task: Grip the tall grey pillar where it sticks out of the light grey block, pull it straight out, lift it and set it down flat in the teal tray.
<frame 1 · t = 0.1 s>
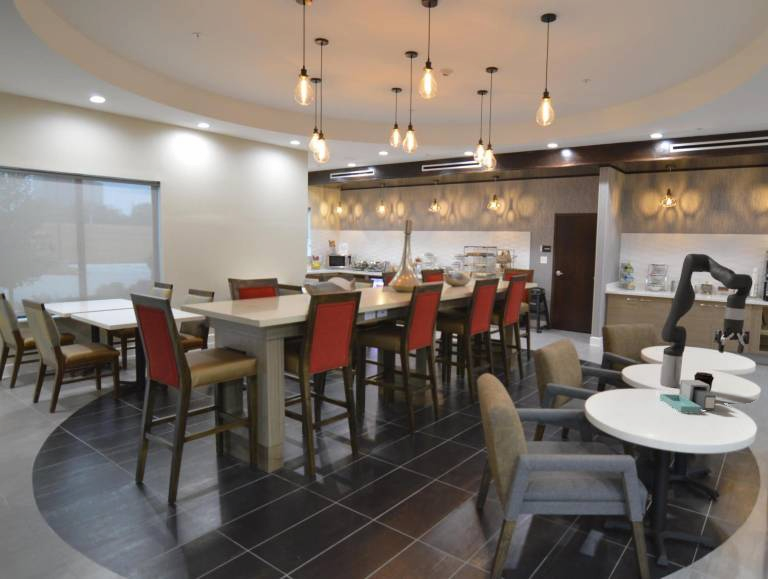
hand: (730, 352, 233), 29 cm above the table, tool pointing down, fingers open, 8 cm apart
tall grey pillar: (700, 407, 245), on the table
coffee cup: (701, 398, 259), on the table
light grey block: (693, 403, 251), on the table
tray: (679, 406, 245), on the table
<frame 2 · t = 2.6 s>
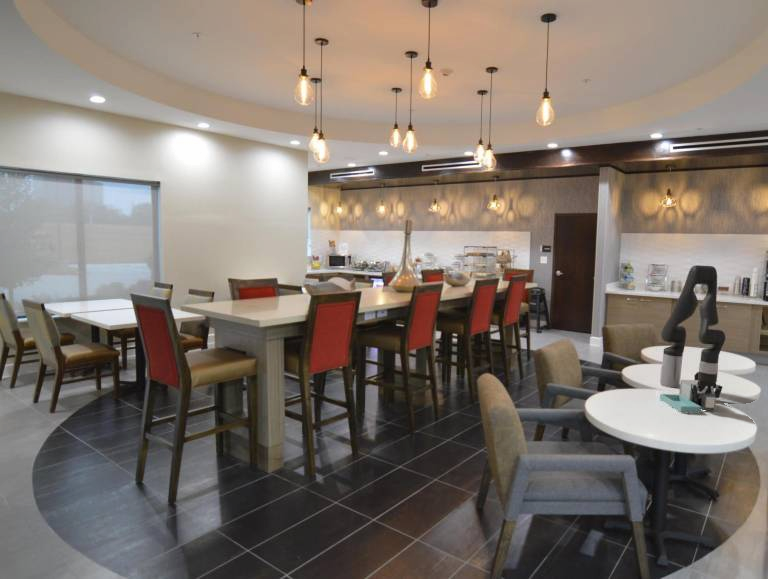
hand: (704, 405, 242), 2 cm above the table, tool pointing down, fingers closed on tall grey pillar, 5 cm apart
tall grey pillar: (700, 406, 245), on the table, touching gripper
everything else where it was.
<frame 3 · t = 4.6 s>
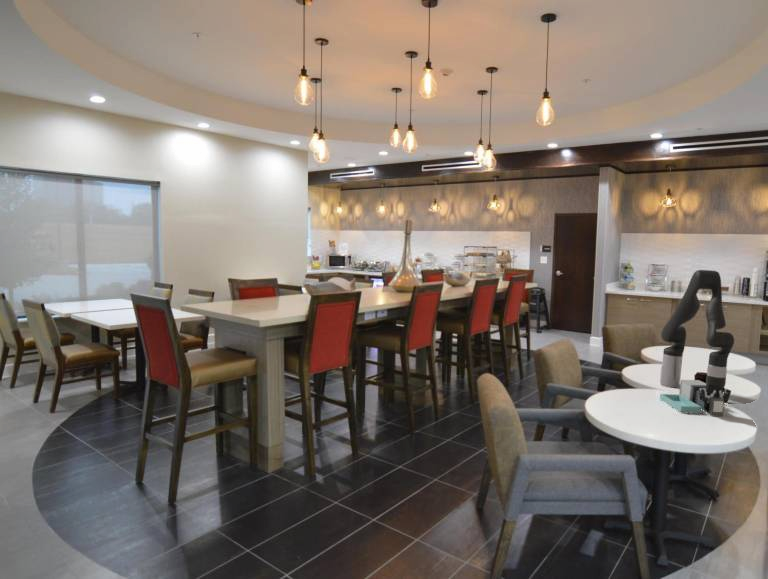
hand: (712, 410, 236), 1 cm above the table, tool pointing down, fingers closed on tall grey pillar, 5 cm apart
tall grey pillar: (708, 411, 239), on the table, touching gripper
everything else where it was.
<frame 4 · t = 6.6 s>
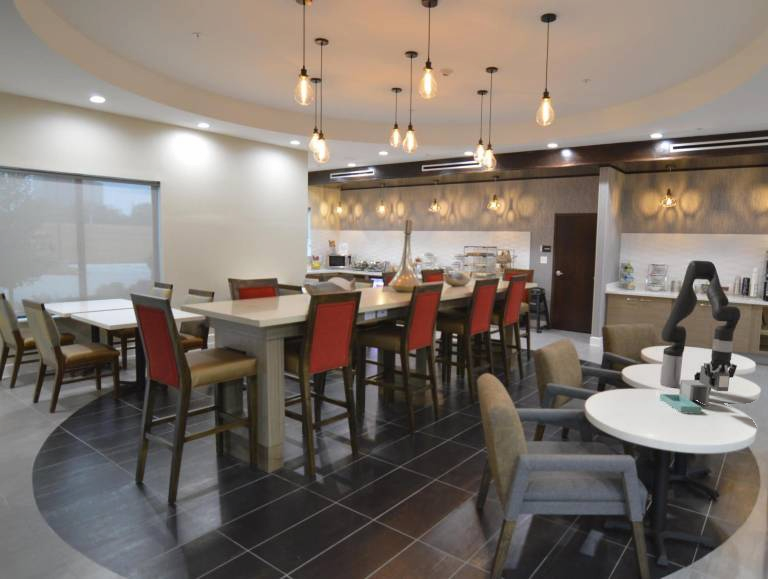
hand: (717, 385, 233), 14 cm above the table, tool pointing down, fingers closed on tall grey pillar, 5 cm apart
tall grey pillar: (713, 386, 236), point 12 cm above the table, touching gripper
everything else where it was.
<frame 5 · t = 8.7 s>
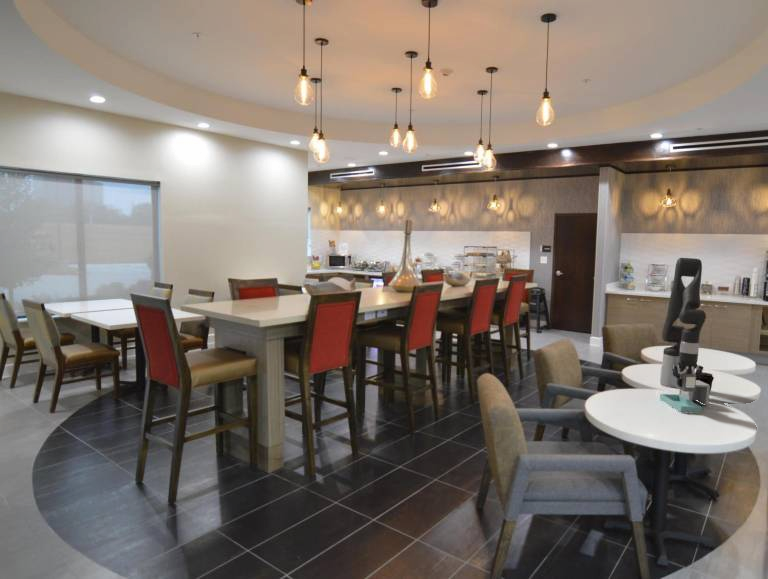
hand: (685, 386, 241), 11 cm above the table, tool pointing down, fingers closed on tall grey pillar, 5 cm apart
tall grey pillar: (681, 387, 244), point 9 cm above the table, touching gripper
everything else where it was.
when the fingers open (3 cm above the table, at t = 10.4 s): tall grey pillar drops 1 cm, resting on tray.
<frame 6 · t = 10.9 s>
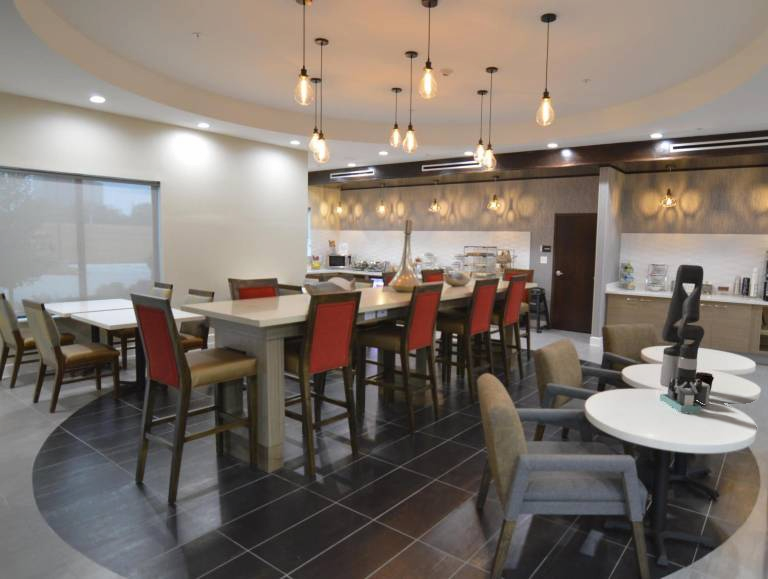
hand: (684, 400, 241), 4 cm above the table, tool pointing down, fingers open, 8 cm apart
tall grey pillar: (679, 405, 245), point 1 cm above the table, touching tray
everything else where it was.
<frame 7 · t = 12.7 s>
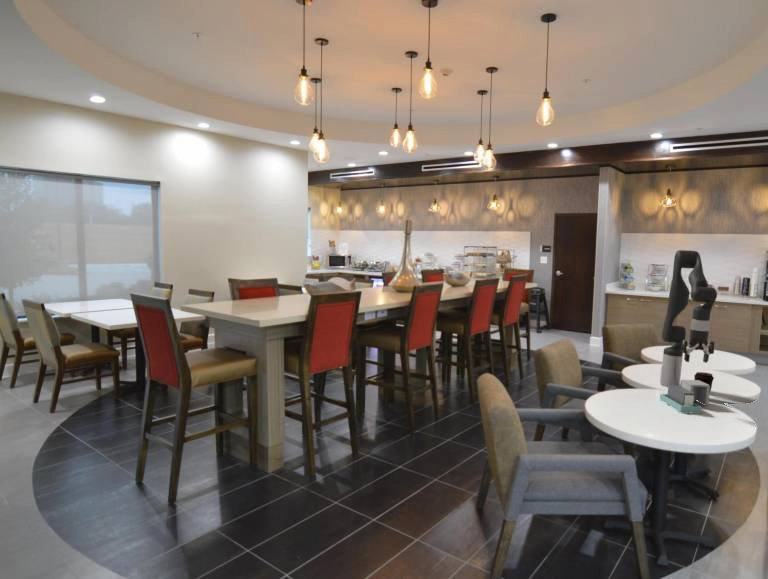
hand: (695, 361, 244), 22 cm above the table, tool pointing down, fingers open, 8 cm apart
nothing on the table moved.
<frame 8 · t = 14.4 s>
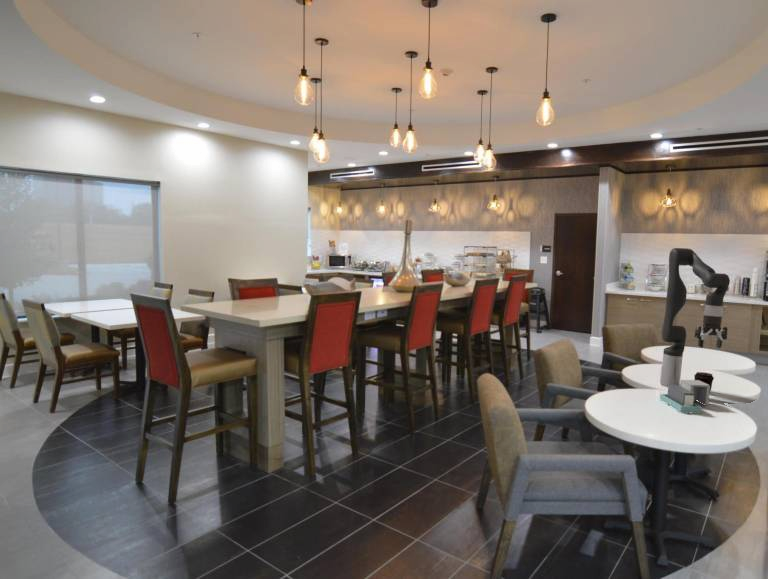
hand: (709, 347, 248), 28 cm above the table, tool pointing down, fingers open, 8 cm apart
nothing on the table moved.
at the end: tall grey pillar inside the target area on the tray (0.1 cm from its centre), point 0.6 cm above the tray's base; tall grey pillar tilted 0°; the gripper is holding nothing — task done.
